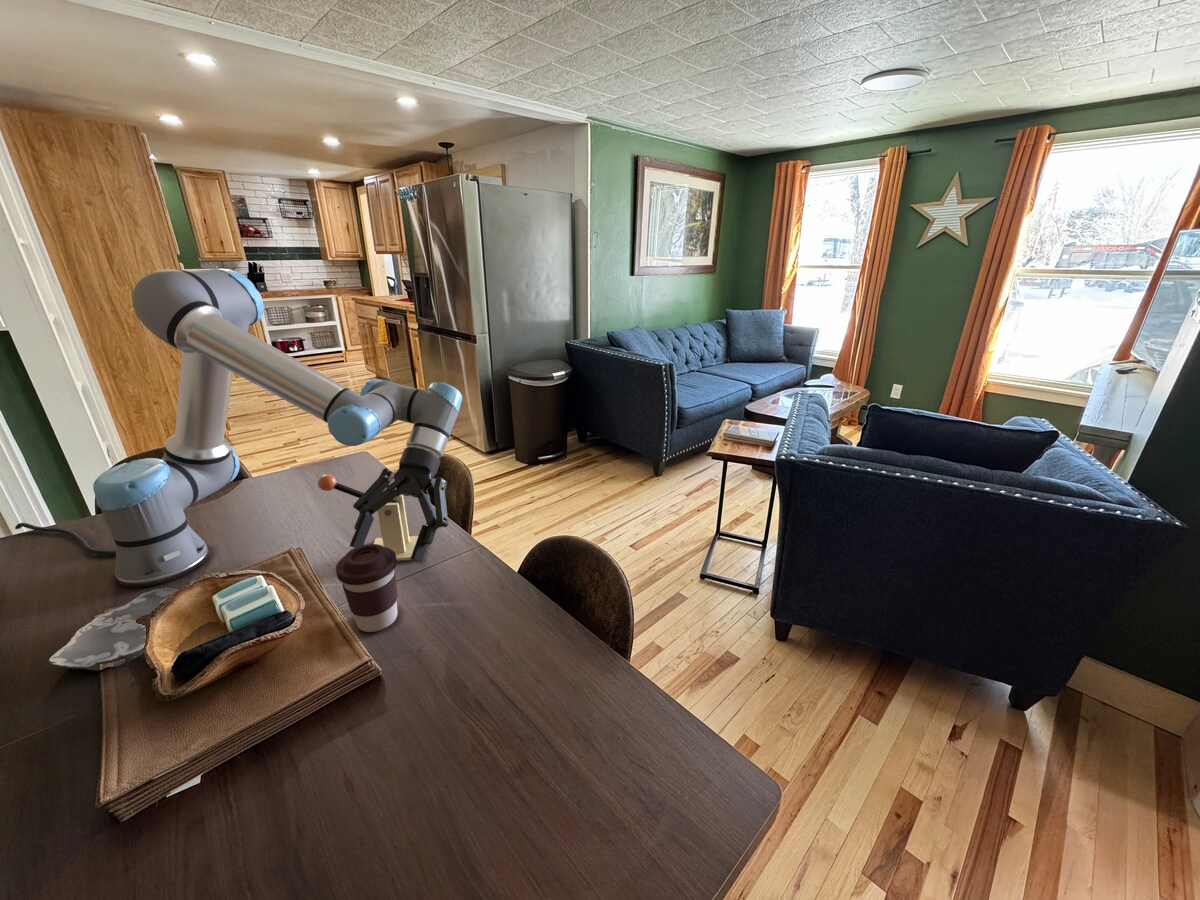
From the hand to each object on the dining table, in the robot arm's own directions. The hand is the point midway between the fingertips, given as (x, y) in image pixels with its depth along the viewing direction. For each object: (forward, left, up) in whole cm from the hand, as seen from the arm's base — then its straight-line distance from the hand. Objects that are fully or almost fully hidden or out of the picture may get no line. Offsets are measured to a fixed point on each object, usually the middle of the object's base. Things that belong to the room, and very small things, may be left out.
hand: (385, 554), depth 90 cm
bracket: (-13, +14, -12) cm, 23 cm away
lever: (-19, +11, +2) cm, 22 cm away
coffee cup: (0, -5, -12) cm, 13 cm away
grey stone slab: (-35, -25, -12) cm, 44 cm away
